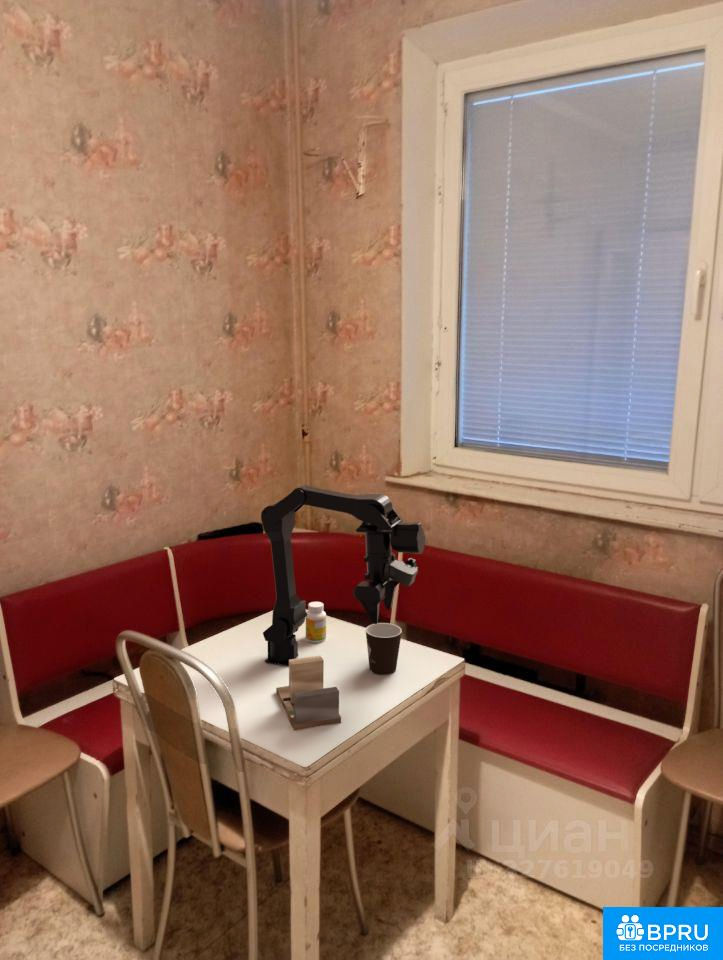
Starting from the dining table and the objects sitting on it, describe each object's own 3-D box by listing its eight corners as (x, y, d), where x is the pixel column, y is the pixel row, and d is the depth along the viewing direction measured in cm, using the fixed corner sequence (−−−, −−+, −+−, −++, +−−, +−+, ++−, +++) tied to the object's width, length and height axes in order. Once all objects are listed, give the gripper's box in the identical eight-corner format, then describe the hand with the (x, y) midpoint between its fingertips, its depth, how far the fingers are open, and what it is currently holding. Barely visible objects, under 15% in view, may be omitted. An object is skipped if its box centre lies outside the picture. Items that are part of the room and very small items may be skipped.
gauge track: (276, 692, 161) (276, 662, 160) (319, 686, 164) (319, 656, 163) (294, 730, 146) (294, 698, 144) (341, 722, 149) (341, 690, 148)
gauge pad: (281, 699, 155) (281, 660, 153) (320, 693, 158) (320, 655, 156) (284, 704, 153) (284, 665, 151) (323, 698, 156) (323, 660, 154)
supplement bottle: (302, 636, 191) (302, 602, 189) (321, 633, 193) (322, 599, 191) (309, 644, 186) (309, 609, 184) (328, 641, 188) (329, 606, 186)
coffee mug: (397, 679, 168) (398, 639, 166) (361, 675, 170) (362, 635, 168) (404, 657, 179) (405, 620, 177) (370, 654, 181) (371, 616, 179)
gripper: (399, 564, 151) (402, 635, 154) (424, 541, 168) (427, 605, 171) (350, 561, 155) (354, 630, 158) (380, 539, 172) (383, 601, 175)
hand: (382, 616), depth 165 cm, fingers open, 9 cm apart
